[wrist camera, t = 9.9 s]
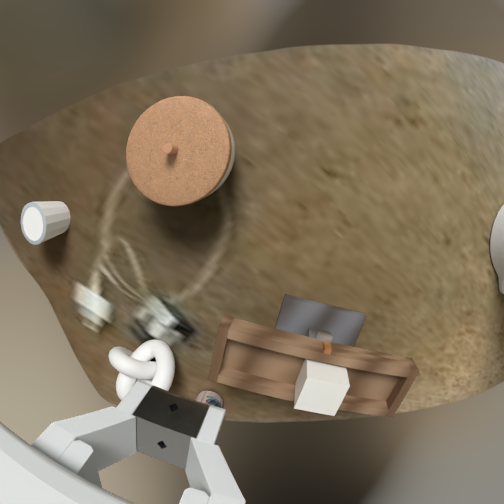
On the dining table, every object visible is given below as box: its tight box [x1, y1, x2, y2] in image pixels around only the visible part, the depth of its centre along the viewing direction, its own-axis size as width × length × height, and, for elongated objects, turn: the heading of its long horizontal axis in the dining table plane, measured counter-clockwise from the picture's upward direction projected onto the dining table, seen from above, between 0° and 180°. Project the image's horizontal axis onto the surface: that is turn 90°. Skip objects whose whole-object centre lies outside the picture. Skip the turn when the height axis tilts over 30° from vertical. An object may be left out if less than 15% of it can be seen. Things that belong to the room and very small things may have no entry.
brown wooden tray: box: [208, 294, 419, 417], centre depth 40 cm, size 25×12×10 cm, turn 77°
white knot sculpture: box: [108, 340, 175, 400], centre depth 46 cm, size 11×12×9 cm
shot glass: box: [21, 201, 70, 245], centre depth 43 cm, size 7×7×7 cm
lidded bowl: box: [126, 96, 235, 206], centre depth 36 cm, size 13×13×11 cm
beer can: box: [195, 391, 223, 408], centre depth 44 cm, size 5×5×12 cm
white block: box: [294, 358, 350, 416], centre depth 34 cm, size 5×5×5 cm
